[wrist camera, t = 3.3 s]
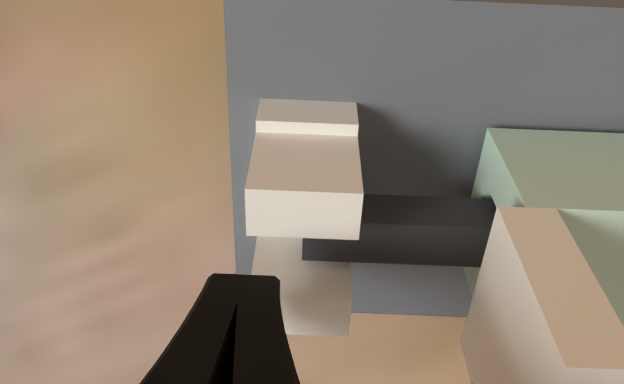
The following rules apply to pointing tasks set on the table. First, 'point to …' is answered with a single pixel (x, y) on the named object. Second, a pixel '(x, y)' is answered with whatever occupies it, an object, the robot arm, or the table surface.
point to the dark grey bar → (413, 232)
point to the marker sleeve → (549, 260)
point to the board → (392, 126)
